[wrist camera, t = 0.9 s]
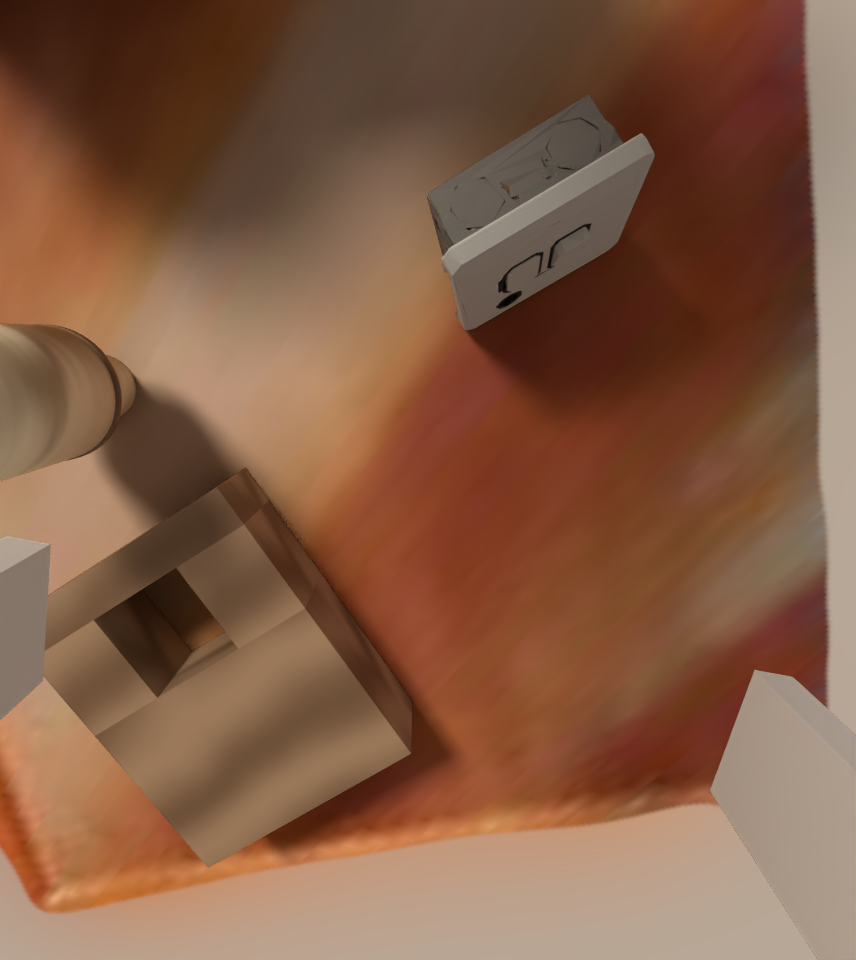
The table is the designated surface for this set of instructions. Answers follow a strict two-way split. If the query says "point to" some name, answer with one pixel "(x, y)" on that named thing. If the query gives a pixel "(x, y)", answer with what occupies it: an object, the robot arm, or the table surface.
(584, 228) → the electrical switch
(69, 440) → the leg peg
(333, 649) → the board
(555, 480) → the table surface
